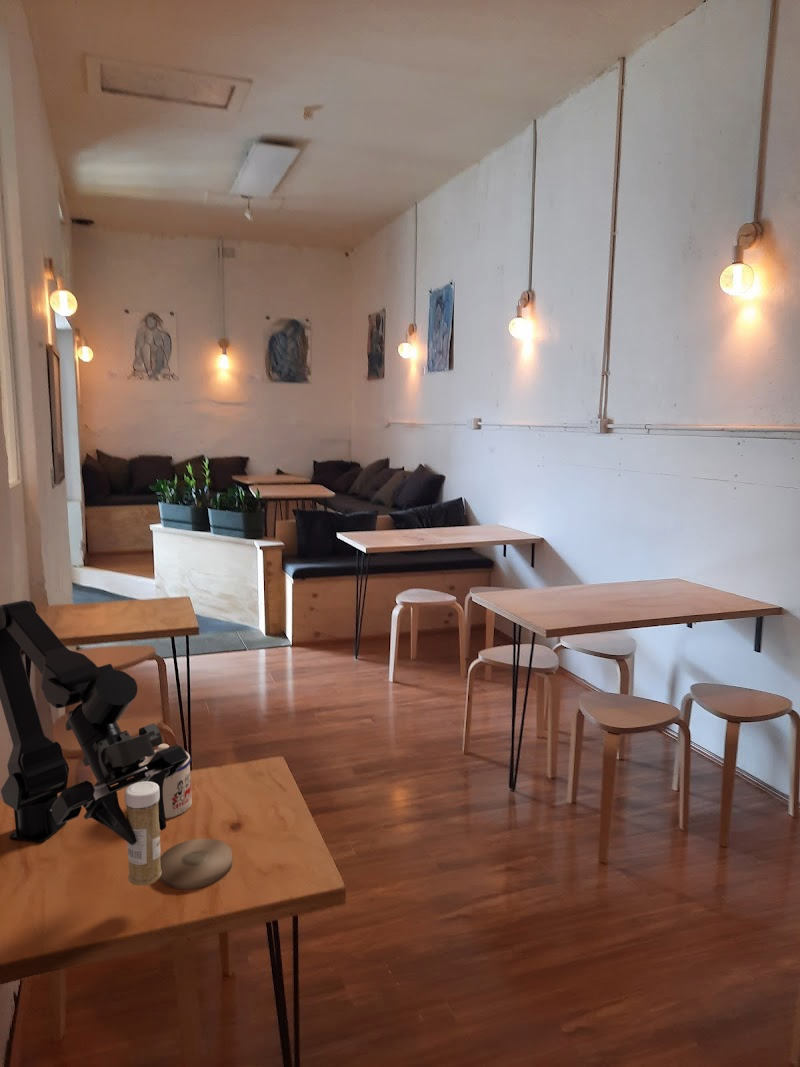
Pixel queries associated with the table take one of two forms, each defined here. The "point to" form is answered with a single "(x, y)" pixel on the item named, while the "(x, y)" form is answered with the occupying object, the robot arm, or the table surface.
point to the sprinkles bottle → (144, 832)
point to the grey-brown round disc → (195, 863)
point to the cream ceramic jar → (175, 787)
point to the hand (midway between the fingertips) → (149, 836)
